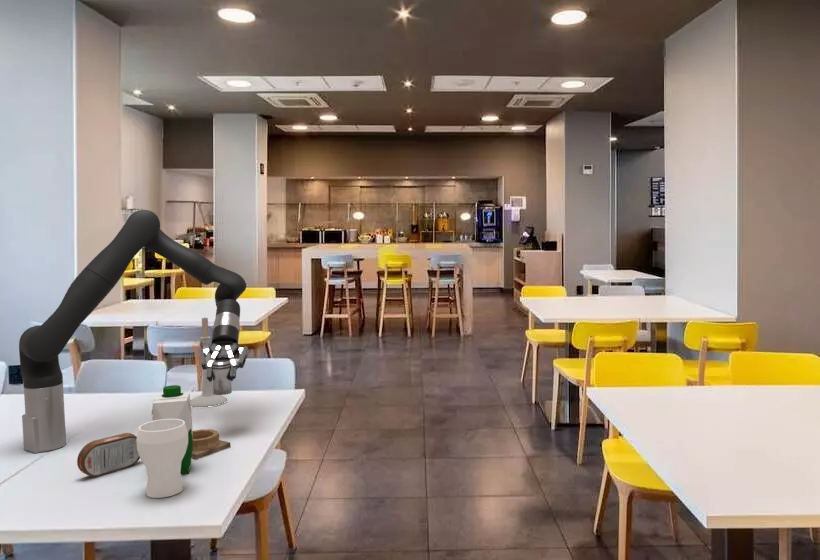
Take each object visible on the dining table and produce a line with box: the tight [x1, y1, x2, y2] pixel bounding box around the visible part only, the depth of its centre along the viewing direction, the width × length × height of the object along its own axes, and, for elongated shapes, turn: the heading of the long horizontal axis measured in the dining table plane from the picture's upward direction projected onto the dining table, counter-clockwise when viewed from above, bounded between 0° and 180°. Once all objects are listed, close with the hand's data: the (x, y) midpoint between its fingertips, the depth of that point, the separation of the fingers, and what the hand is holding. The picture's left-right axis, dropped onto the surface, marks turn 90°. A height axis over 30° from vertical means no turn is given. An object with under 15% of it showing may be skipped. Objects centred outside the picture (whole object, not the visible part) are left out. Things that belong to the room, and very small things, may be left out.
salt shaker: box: [212, 360, 233, 396], centre depth 172 cm, size 5×5×9 cm
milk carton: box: [151, 384, 193, 475], centre depth 148 cm, size 9×9×20 cm
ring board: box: [191, 428, 232, 460], centre depth 163 cm, size 11×11×4 cm
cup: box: [136, 419, 188, 499], centre depth 135 cm, size 11×11×15 cm
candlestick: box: [190, 317, 228, 408], centre depth 210 cm, size 13×13×30 cm
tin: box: [76, 432, 141, 478], centre depth 148 cm, size 15×3×8 cm, turn 141°
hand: (220, 379), depth 171 cm, fingers closed on salt shaker, 5 cm apart
